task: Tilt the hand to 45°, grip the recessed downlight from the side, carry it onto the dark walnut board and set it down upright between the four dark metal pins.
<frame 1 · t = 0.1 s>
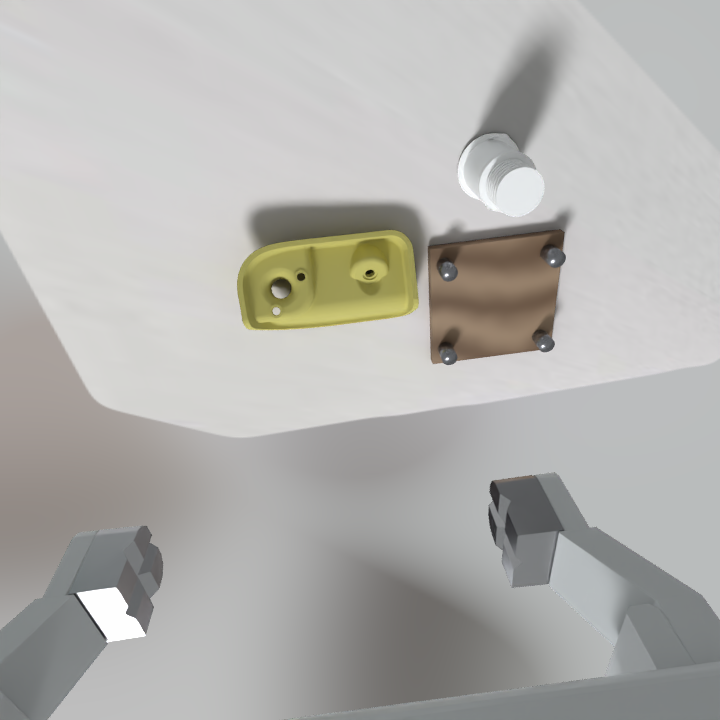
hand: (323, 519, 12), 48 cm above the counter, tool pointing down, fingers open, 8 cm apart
recessed downlight: (487, 168, 54), on the counter
pin board: (491, 298, 63), on the counter
plastic component: (329, 273, 60), on the counter
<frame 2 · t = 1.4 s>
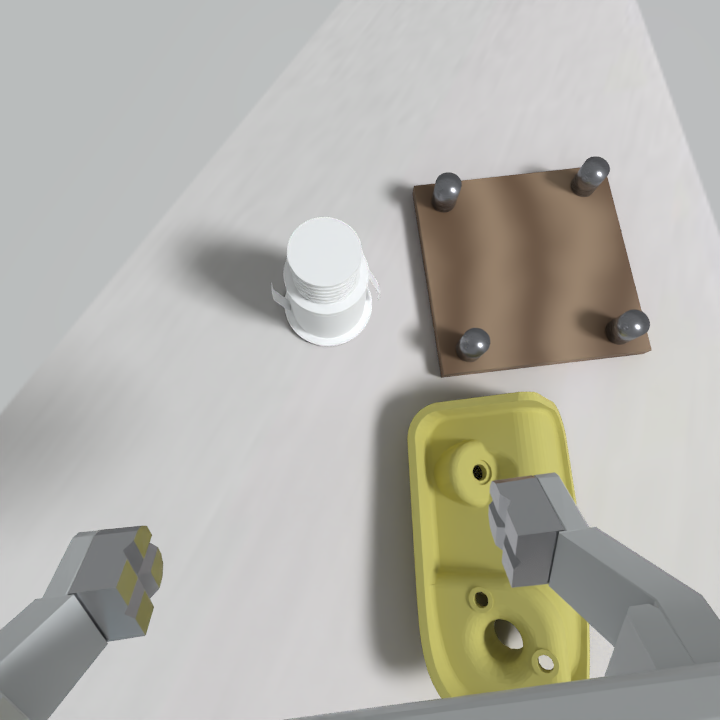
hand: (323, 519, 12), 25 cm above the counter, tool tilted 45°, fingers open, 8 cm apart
recessed downlight: (330, 305, 40), on the counter
pin board: (523, 270, 40), on the counter
plastic component: (485, 537, 36), on the counter
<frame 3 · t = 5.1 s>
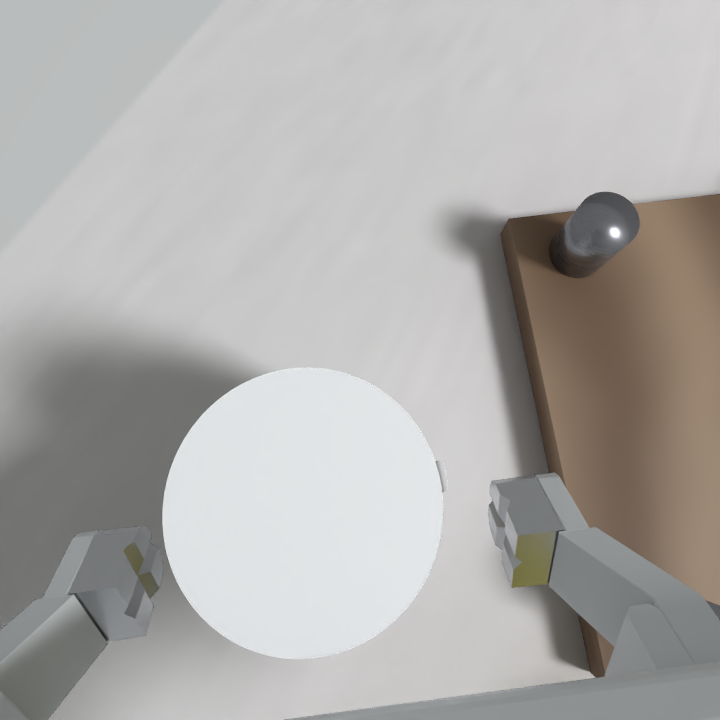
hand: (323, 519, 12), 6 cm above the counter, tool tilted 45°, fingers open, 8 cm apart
recessed downlight: (327, 487, 18), on the counter, touching gripper
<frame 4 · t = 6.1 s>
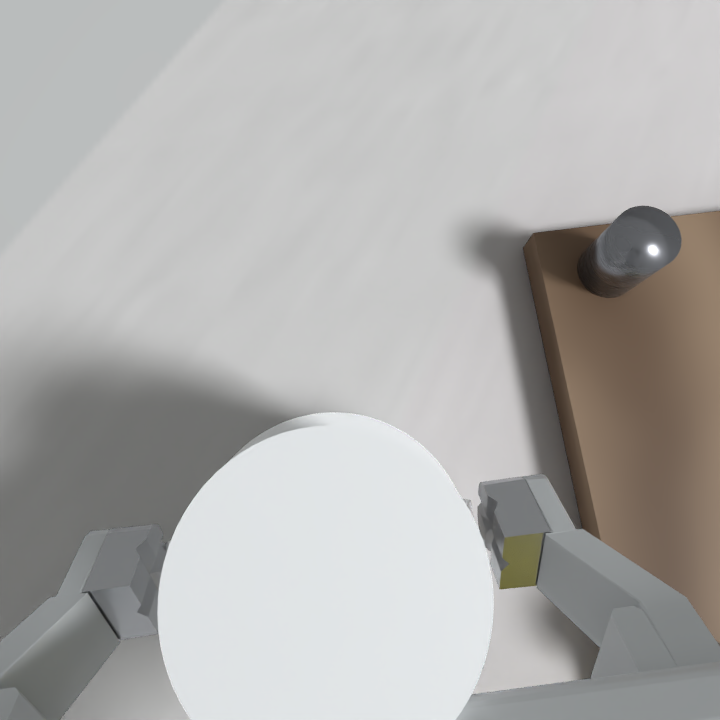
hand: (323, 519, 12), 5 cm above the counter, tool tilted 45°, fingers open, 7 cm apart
recessed downlight: (340, 521, 17), on the counter, touching gripper
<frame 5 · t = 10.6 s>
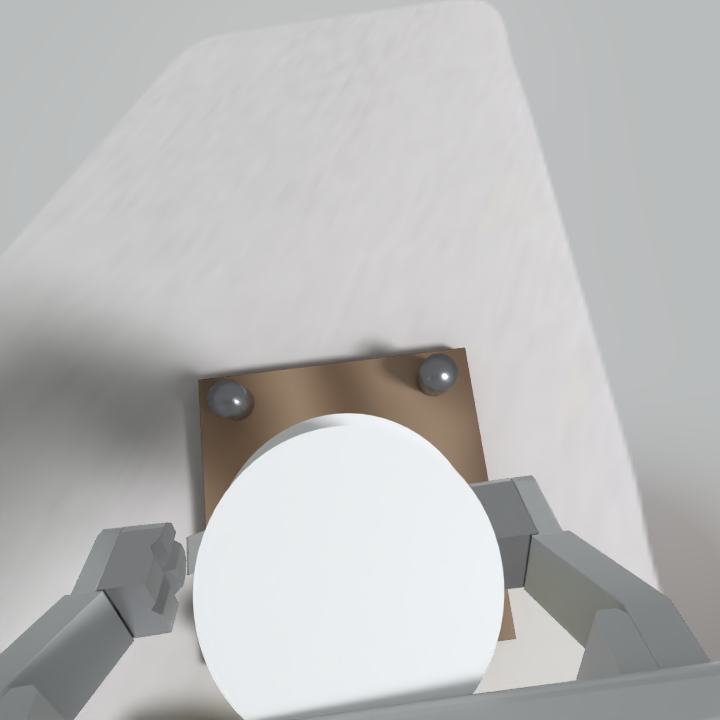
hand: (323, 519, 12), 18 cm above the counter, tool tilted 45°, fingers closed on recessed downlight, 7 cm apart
recessed downlight: (349, 519, 17), point 12 cm above the counter, touching gripper
pin board: (348, 500, 29), on the counter
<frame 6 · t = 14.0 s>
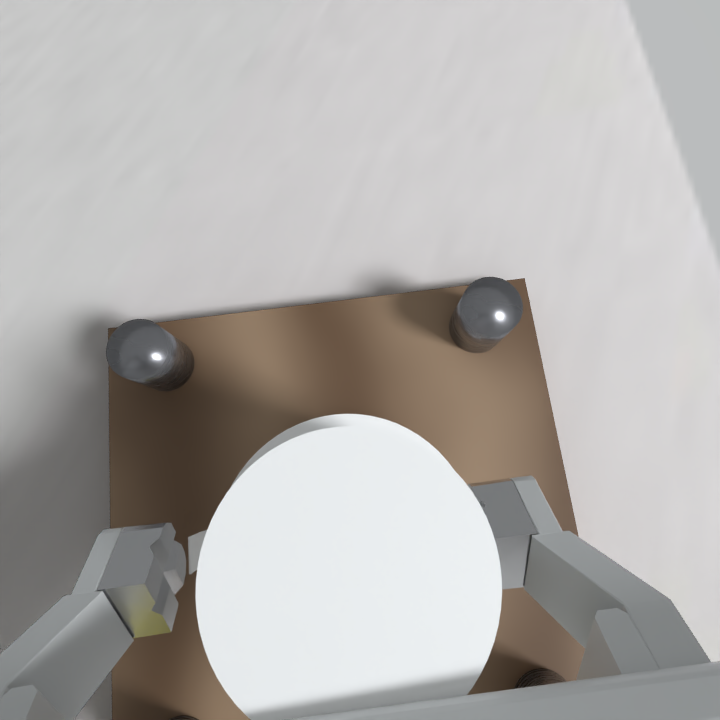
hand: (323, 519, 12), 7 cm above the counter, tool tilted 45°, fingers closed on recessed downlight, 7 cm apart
recessed downlight: (349, 519, 17), point 1 cm above the counter, touching gripper, pin board
pin board: (342, 517, 18), on the counter
when the fingers open (7 cm above the counter, at t = 14.9 s): recessed downlight stays where it is, resting on pin board.
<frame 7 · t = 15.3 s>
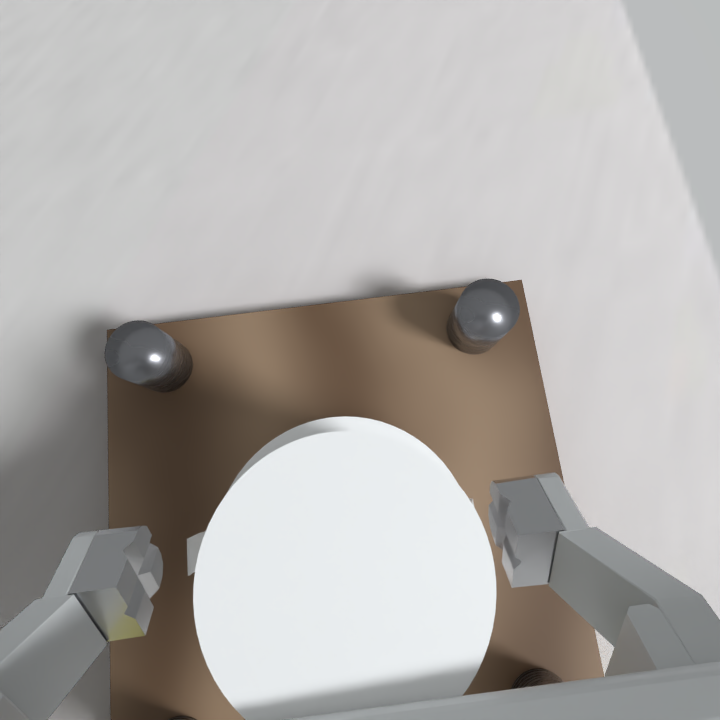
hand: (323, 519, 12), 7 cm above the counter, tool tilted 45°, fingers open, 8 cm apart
recessed downlight: (348, 519, 17), point 1 cm above the counter, touching pin board
pin board: (340, 518, 18), on the counter
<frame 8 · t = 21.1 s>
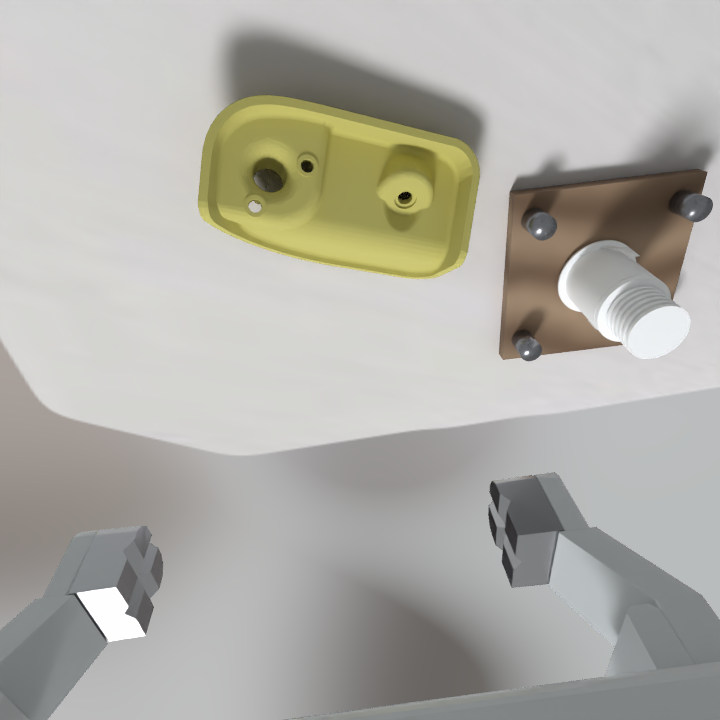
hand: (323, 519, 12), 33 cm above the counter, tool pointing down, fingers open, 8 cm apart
recessed downlight: (594, 276, 45), point 1 cm above the counter, touching pin board
pin board: (589, 269, 45), on the counter
plastic component: (342, 184, 40), on the counter
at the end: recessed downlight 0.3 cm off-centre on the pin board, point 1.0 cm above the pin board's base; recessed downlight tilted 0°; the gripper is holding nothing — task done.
